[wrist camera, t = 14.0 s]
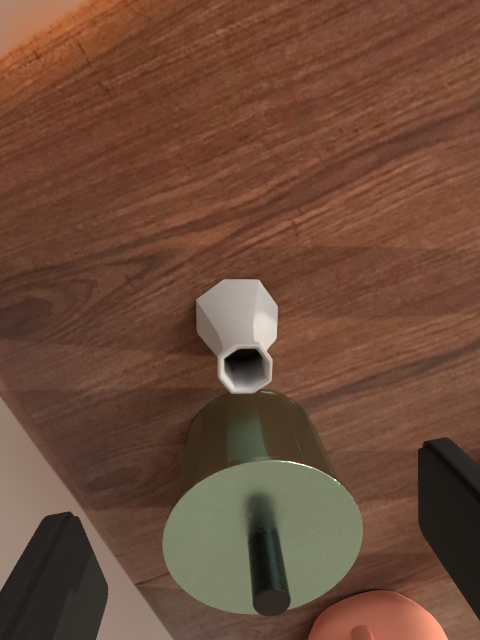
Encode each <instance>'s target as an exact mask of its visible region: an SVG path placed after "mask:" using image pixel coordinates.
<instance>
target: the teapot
mask: <svg viewBox="0 0 480 640" xmlns="http://www.w3.org/2000/svg"><path fill="white" fill-rule="evenodd" d="M308 640H448V639H447V637H446V635H445V633H444V631H443V629H442V627H441V626H440V625H439V623H438V622H437V621H436V620H435V618H434V617H433V616H432V615H431V614H430V613H429V612H428V611H426V610H425V609H424V608H422V607H421V606H419V605H418V604H417V603H415V602H414V601H412V600H411V599H409V598H407V597H405V596H404V595H402V594H400V593H397V592H394V591H388V590H375V591H369V592H364V593H360V594H357V595H354V596H351V597H348V598H346V599H343V600H341V601H339V602H337V603H335V604H333V605H331V606H330V607H328V608H327V609H325V610H324V611H323V612H322V613H321V614H320V615H319V616H318V617H317V619H316V620H315V622H314V624H313V627H312V629H311V631H310V634H309V637H308Z"/></svg>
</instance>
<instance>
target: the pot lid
mask: <svg viewBox="0 0 480 640" xmlns="http://www.w3.org/2000/svg"><path fill="white" fill-rule="evenodd" d="M362 537H363V524H362V518H361V514H360V511H359V508H358V506H357V504H356V502H355V500H354V498H353V496H352V494H351V493H350V491H349V490H348V489H347V488H346V486H345V485H344V484H343V483H342V482H341V481H340V480H339V479H338V478H337V477H335V476H334V475H333V474H331V473H330V472H328V471H327V470H325V469H323V468H321V467H319V466H317V465H315V464H313V463H310V462H307V461H304V460H300V459H296V458H291V457H283V456H257V457H249V458H244V459H240V460H236V461H232V462H229V463H227V464H224V465H221V466H219V467H217V468H215V469H213V470H211V471H209V472H207V473H206V474H204V475H202V476H201V477H199V478H198V479H197V480H195V481H194V482H193V483H192V484H191V485H189V486H188V487H187V488H186V489H185V490H184V491H183V493H182V494H181V495H180V496H179V497H178V499H177V500H176V502H175V503H174V505H173V506H172V508H171V510H170V512H169V514H168V516H167V520H166V523H165V527H164V532H163V541H162V544H163V554H164V559H165V563H166V565H167V567H168V570H169V572H170V573H171V575H172V577H173V578H174V580H175V581H176V582H177V583H178V584H179V586H180V587H181V588H182V589H183V590H185V591H186V592H187V593H188V594H189V595H191V596H192V597H194V598H195V599H197V600H198V601H200V602H202V603H204V604H206V605H208V606H211V607H214V608H217V609H220V610H224V611H228V612H233V613H240V614H261V615H264V616H276V615H279V614H281V613H283V612H285V611H286V610H289V609H292V608H295V607H298V606H301V605H304V604H306V603H308V602H311V601H313V600H314V599H316V598H318V597H320V596H322V595H323V594H324V593H326V592H327V591H329V590H330V589H332V588H333V587H334V586H335V585H336V584H337V583H338V582H340V580H341V579H342V578H343V577H344V576H345V575H346V574H347V573H348V571H349V570H350V568H351V567H352V565H353V564H354V562H355V560H356V558H357V556H358V553H359V550H360V547H361V543H362Z"/></svg>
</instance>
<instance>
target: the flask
mask: <svg viewBox="0 0 480 640" xmlns="http://www.w3.org/2000/svg"><path fill="white" fill-rule="evenodd" d="M277 318H278V306H277V305H276V303H275V302H274V300H273V299H272V297H271V296H270V295H269V293H268V292H267V290H266V289H265V288H264V286H263V285H262V283H261V282H260V281H259V280H248V279H224V280H222V281H221V282H219V283H218V284H217V285H215V286H214V287H213V288H211V289H210V290H209V291H207V292H206V293H204V294H203V295H202V296H200V297H199V298H198V299H196V321H197V333H198V335H199V336H200V337H201V338H202V339H203V341H204V342H205V343H206V344H207V346H208V347H209V348H210V349H211V350H212V352H213V353H214V354H215V355H216V357H217V358H218V378H219V379H220V381H221V382H222V383H223V384H224V385H225V387H226V388H227V389H228V390H229V391H230V393H231V394H242V393H255V392H256V391H258V390H259V389H261V388H262V387H264V386H265V385H267V384H268V383H270V382H271V380H272V358H271V357H270V356H269V354H268V353H267V352H266V351H267V350H268V348H269V347H270V346H271V344H272V343H273V342H274V341H275V340H276V336H277Z"/></svg>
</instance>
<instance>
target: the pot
mask: <svg viewBox="0 0 480 640" xmlns="http://www.w3.org/2000/svg"><path fill="white" fill-rule="evenodd" d="M257 456H283V457H291V458H296V459H300V460H304V461H307V462H310V463H313V464H315V465H317V466H319V467H321V468H323V469H325V470H327V471H328V472H330V473H331V474H333V475H334V476H335V477H337V478H338V476H337V474H336V472H335V470H334V468H333V466H332V463H331V461H330V459H329V457H328V455H327V453H326V450H325V448H324V446H323V444H322V442H321V439H320V437H319V435H318V433H317V431H316V429H315V427H314V425H313V423H312V422H311V420H310V419H309V417H308V415H307V414H306V412H305V411H304V410H303V409H302V408H301V407H300V406H299V405H298V404H297V403H296V402H294V401H293V400H292V399H290V398H288V397H286V396H285V395H282V394H280V393H277V392H274V391H270V390H265V389H259V390H258V391H256V392H255V393H242V394H231V393H228V394H225V395H222V396H221V397H219V398H217V399H215V400H213V401H212V402H211V403H209V404H208V405H207V406H206V407H204V408H203V409H202V410H201V411H200V413H199V414H198V415H197V416H196V418H195V419H194V421H193V422H192V424H191V426H190V428H189V430H188V435H187V440H186V445H185V450H184V455H183V461H182V467H181V473H180V479H179V485H178V491H177V497H176V500H177V499H178V497H179V496H180V495H181V494H182V493H183V491H184V490H185V489H186V488H187V487H188V486H189V485H191V484H192V483H193V482H194V481H195V480H197V479H198V478H199V477H201V476H202V475H204V474H206V473H207V472H209V471H211V470H213V469H215V468H217V467H219V466H221V465H224V464H227V463H229V462H232V461H236V460H240V459H244V458H249V457H257Z"/></svg>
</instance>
